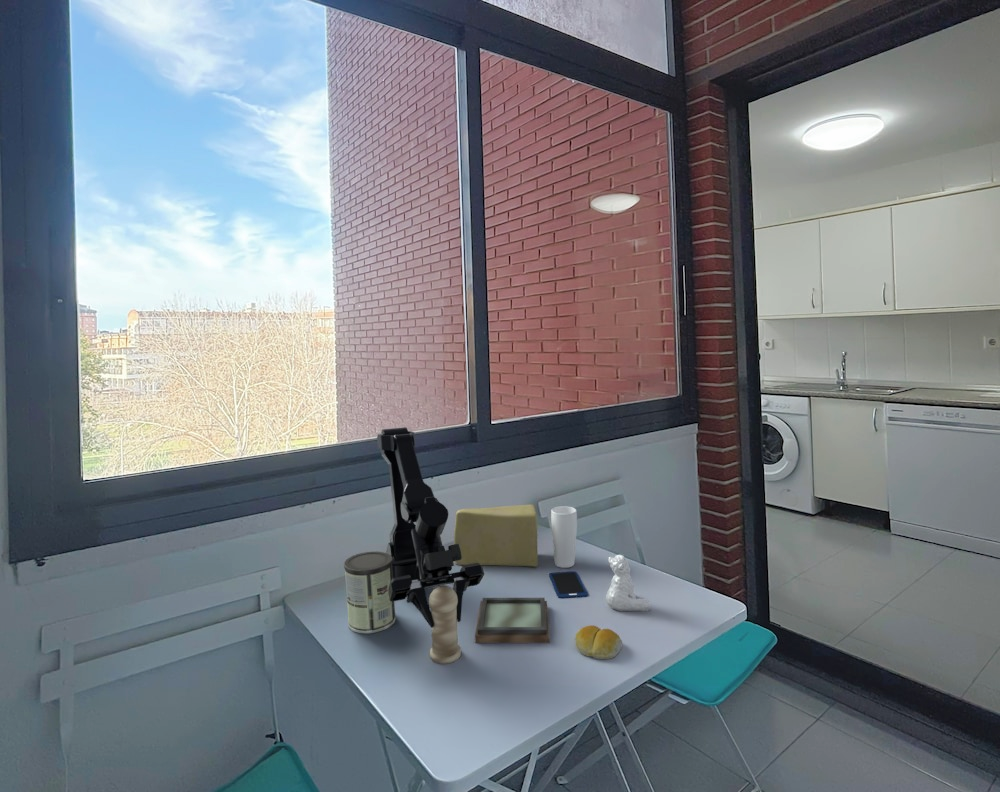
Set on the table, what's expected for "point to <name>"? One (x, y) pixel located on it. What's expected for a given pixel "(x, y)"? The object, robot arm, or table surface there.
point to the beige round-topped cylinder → (444, 625)
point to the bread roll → (598, 642)
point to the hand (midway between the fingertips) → (446, 624)
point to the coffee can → (369, 592)
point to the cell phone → (568, 584)
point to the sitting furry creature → (623, 588)
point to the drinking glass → (564, 535)
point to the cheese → (497, 536)
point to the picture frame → (512, 621)
